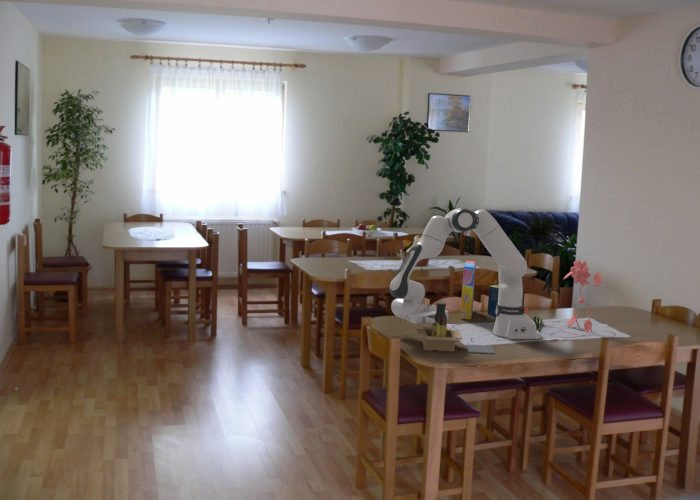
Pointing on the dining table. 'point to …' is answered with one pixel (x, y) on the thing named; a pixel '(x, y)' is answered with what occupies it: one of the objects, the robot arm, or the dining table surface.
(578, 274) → the pink blossom sprig
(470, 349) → the mat
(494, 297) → the protein box
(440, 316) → the sauce bottle
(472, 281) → the game box
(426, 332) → the carton
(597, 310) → the dining table surface
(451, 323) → the dining table surface
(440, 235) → the robot arm
